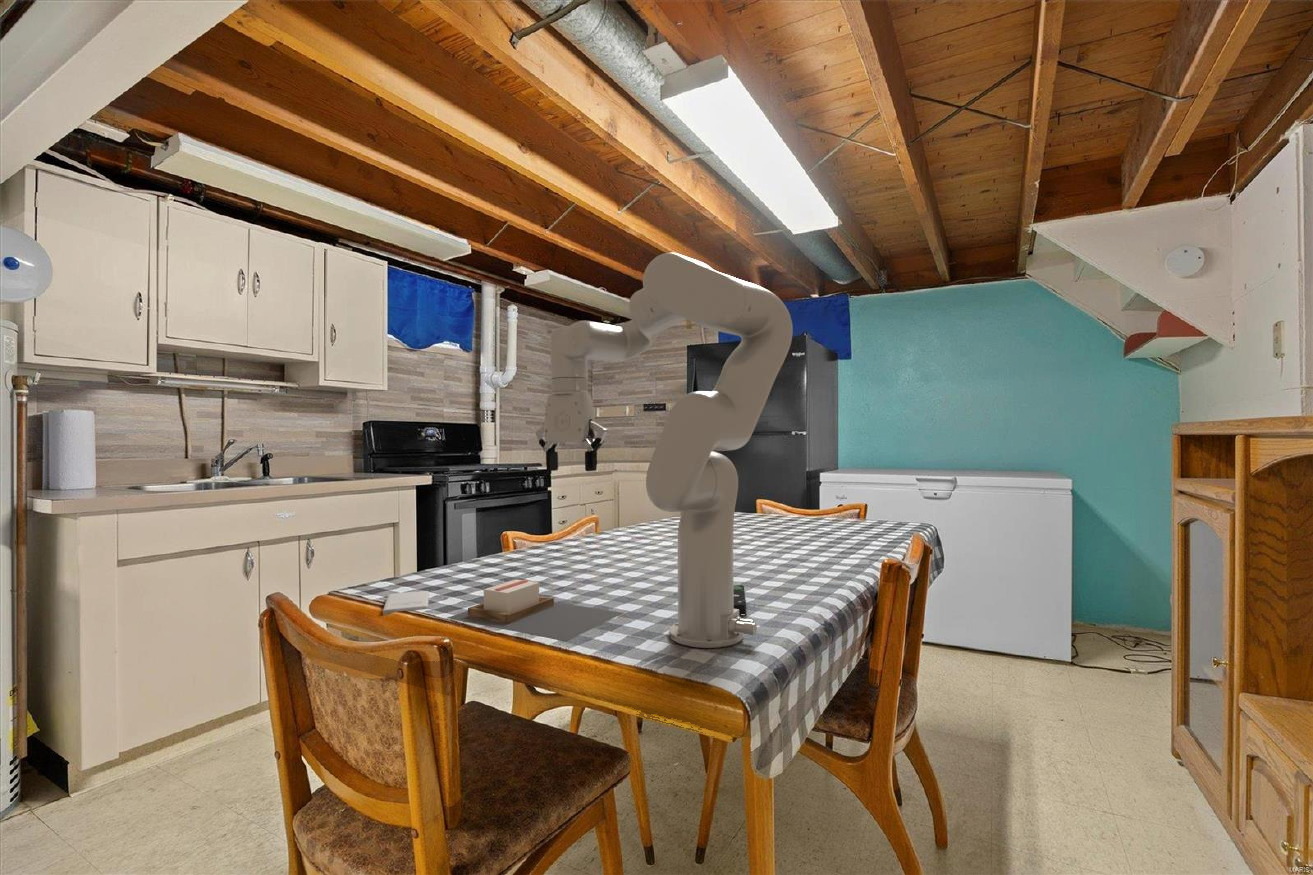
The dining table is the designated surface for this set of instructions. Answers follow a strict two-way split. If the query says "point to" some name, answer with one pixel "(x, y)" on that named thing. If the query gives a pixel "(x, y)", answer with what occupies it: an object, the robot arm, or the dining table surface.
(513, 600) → the block
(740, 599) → the disk drive
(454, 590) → the dining table surface
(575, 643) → the dining table surface
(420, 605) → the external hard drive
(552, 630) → the mat
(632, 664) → the dining table surface
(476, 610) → the tray
